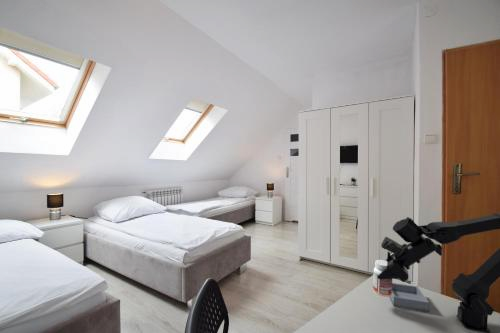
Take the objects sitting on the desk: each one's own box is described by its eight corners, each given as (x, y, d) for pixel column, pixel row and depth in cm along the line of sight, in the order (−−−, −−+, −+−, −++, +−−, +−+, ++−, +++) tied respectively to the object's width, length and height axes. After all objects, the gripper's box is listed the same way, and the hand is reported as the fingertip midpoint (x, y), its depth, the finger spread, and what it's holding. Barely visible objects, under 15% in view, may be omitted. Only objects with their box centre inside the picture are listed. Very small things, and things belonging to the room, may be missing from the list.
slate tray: (417, 294, 97) (417, 286, 97) (428, 312, 87) (429, 302, 86) (386, 290, 100) (386, 281, 100) (393, 306, 90) (393, 296, 90)
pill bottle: (395, 294, 88) (396, 263, 88) (386, 299, 85) (387, 268, 84) (378, 286, 93) (379, 257, 93) (369, 291, 90) (370, 261, 89)
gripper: (396, 225, 94) (364, 247, 100) (397, 239, 78) (359, 265, 84) (420, 249, 90) (385, 271, 96) (426, 269, 74) (384, 294, 80)
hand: (378, 274), depth 89 cm, fingers closed on pill bottle, 6 cm apart
